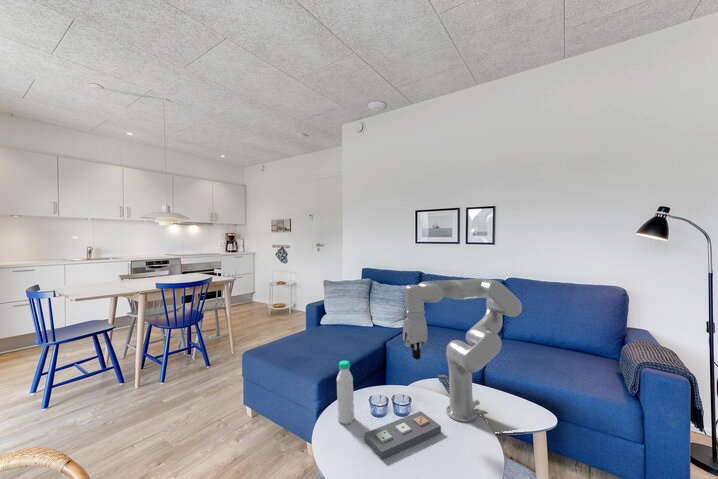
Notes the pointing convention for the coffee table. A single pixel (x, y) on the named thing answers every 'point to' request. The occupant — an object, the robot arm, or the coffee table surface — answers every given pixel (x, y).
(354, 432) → the coffee table surface
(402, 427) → the one pip key
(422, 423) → the three pip key
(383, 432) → the two pip key
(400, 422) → the key board
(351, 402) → the water bottle
